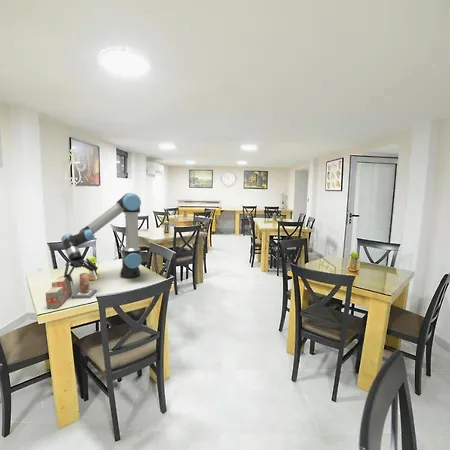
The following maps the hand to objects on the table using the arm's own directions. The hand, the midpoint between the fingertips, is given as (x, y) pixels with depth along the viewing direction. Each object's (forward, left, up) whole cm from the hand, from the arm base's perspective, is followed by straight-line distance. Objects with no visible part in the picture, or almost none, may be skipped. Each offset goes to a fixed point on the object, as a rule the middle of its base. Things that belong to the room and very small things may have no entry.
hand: (85, 282), depth 173 cm
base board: (+2, -2, -9) cm, 9 cm away
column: (+2, -2, -7) cm, 8 cm away
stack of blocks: (+12, +7, -9) cm, 17 cm away
